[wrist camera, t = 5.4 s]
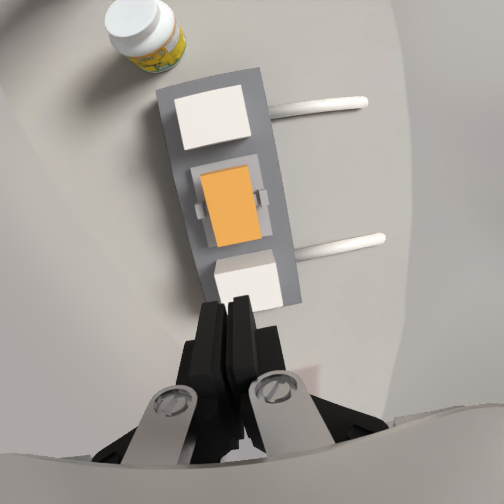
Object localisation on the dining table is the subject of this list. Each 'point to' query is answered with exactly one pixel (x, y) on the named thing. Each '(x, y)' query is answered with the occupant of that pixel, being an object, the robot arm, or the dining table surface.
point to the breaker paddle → (231, 205)
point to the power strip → (262, 180)
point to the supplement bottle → (146, 33)
